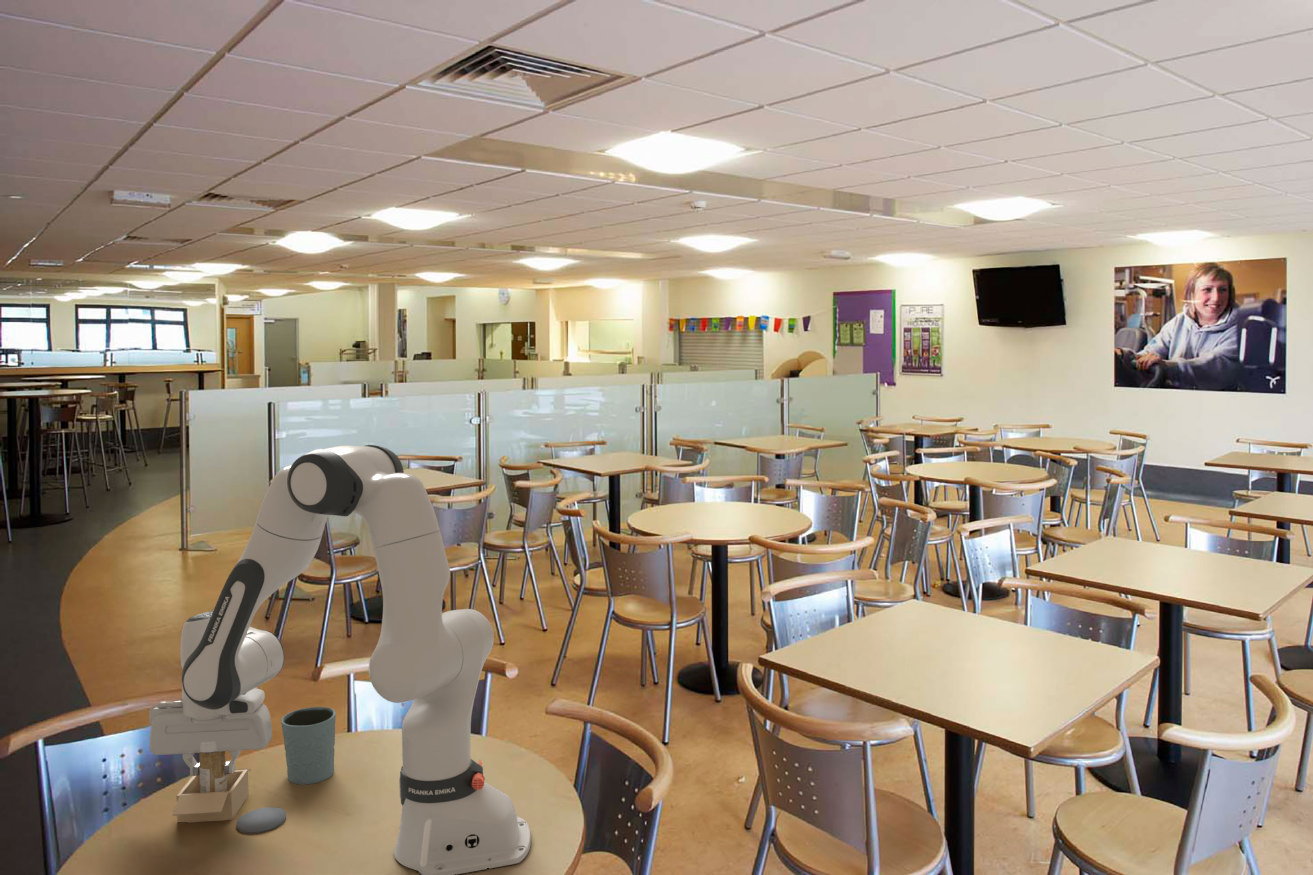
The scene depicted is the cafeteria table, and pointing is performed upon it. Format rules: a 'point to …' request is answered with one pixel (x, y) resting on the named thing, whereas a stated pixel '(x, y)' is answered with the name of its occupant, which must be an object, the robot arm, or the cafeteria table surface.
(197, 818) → the carton
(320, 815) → the cafeteria table surface
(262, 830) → the coaster
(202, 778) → the sprinkles bottle
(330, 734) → the teal cup
